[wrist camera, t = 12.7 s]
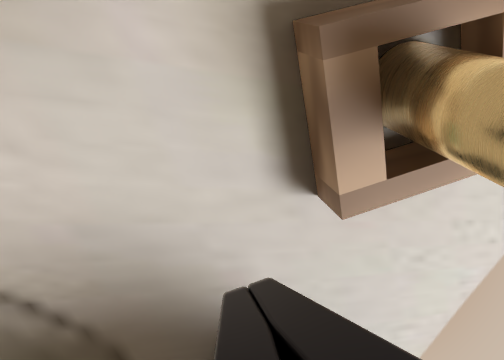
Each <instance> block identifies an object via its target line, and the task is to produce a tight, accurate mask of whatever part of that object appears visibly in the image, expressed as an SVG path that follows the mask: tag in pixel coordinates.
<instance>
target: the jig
mask: <svg viewBox="0 0 504 360" xmlns="http://www.w3.org/2000/svg"><path fill="white" fill-rule="evenodd" d="M458 24H461V50H466V51H471V52H476V53H481V54H487V55H492V56H497V57H502V58H504V0H375V1H371V2H367V3H363V4H359V5H355V6H350V7H346V8H342V9H338V10H334V11H330V12H326V13H322V14H318V15H314V16H310V17H306V18H302V19H298V20H294V21H293V27H294V33H295V40H296V47H297V54H298V61H299V68H300V75H301V82H302V89H303V96H304V103H305V110H306V117H307V124H308V131H309V138H310V145H311V152H312V159H313V166H314V173H315V180H316V187H317V194H318V197H319V198H320V199H321V200H322V201H323V202H324V203H326V204H327V205H328V206H329V207H330V208H331V209H332V210H333V211H334V212H335V213H336V214H337V215H338V216H339V217H340V218H341V219H342V220H344V219H347V218H350V217H352V216H355V215H358V214H361V213H364V212H367V211H370V210H373V209H376V208H379V207H382V206H385V205H388V204H391V203H394V202H397V201H400V200H403V199H406V198H408V197H411V196H414V195H417V194H420V193H423V192H426V191H429V190H432V189H435V188H438V187H441V186H444V185H447V184H450V183H453V182H456V181H459V180H461V179H464V178H467V177H470V176H473V175H476V174H477V173H475V172H473V171H471V170H469V169H467V168H465V167H463V166H461V165H459V164H457V163H455V162H453V161H451V160H450V159H448V158H446V157H444V156H442V155H440V154H438V153H436V152H434V151H432V150H430V149H428V148H426V147H424V146H422V145H420V144H418V143H416V142H412V143H409V144H406V145H403V146H400V147H397V148H393V149H390V150H387V151H385V147H384V133H383V118H382V104H381V90H380V75H379V61H378V46H379V45H383V44H386V43H390V42H394V41H398V40H401V39H405V38H409V37H413V36H416V35H420V34H424V33H428V32H431V31H435V30H439V29H443V28H446V27H450V26H454V25H458Z"/></svg>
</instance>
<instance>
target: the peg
mask: <svg viewBox="0 0 504 360" xmlns="http://www.w3.org/2000/svg"><path fill="white" fill-rule="evenodd" d="M379 75H380V90H381V104H382V118H383V126H385V127H387V128H389V129H391V130H393V131H394V132H396V133H398V134H400V135H402V136H404V137H406V138H408V139H410V140H412V141H414V142H416V143H418V144H420V145H422V146H424V147H426V148H428V149H430V150H432V151H434V152H436V153H438V154H440V155H442V156H444V157H446V158H448V159H450V160H451V161H453V162H455V163H457V164H459V165H461V166H463V167H465V168H467V169H469V170H471V171H473V172H475V173H477V174H479V175H481V176H483V177H485V178H487V179H489V180H491V181H493V182H495V183H497V184H499V185H501V186H503V187H504V58H502V57H497V56H492V55H487V54H481V53H476V52H471V51H466V50H461V49H455V48H450V47H445V46H440V45H435V44H429V43H424V42H419V41H409V42H404V43H401V44H399V45H397V46H395V47H393V48H392V49H390V50H389V51H388V52H386V53H385V54H384V55H383V56H382V57H381V59H380V60H379Z"/></svg>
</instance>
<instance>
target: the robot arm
mask: <svg viewBox="0 0 504 360" xmlns="http://www.w3.org/2000/svg"><path fill="white" fill-rule="evenodd" d="M214 360H421V359H419V358H418V357H416V356H414V355H412V354H410V353H408V352H407V351H405V350H403V349H401V348H399V347H397V346H395V345H394V344H392V343H390V342H388V341H386V340H384V339H383V338H381V337H379V336H377V335H375V334H373V333H371V332H370V331H368V330H366V329H364V328H362V327H360V326H359V325H357V324H355V323H353V322H351V321H349V320H348V319H346V318H344V317H342V316H340V315H338V314H336V313H335V312H333V311H331V310H329V309H327V308H325V307H324V306H322V305H320V304H318V303H316V302H314V301H312V300H311V299H309V298H307V297H305V296H303V295H301V294H300V293H298V292H296V291H294V290H292V289H290V288H288V287H287V286H285V285H283V284H281V283H279V282H277V281H276V280H274V279H272V278H265V279H263V280H260V281H257V282H254V283H251V284H249V286H248V288H247V287H240V288H237V289H234V290H231V291H229V292H226V293H225V294H224V296H223V300H222V306H221V313H220V320H219V326H218V333H217V340H216V347H215V353H214Z"/></svg>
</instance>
